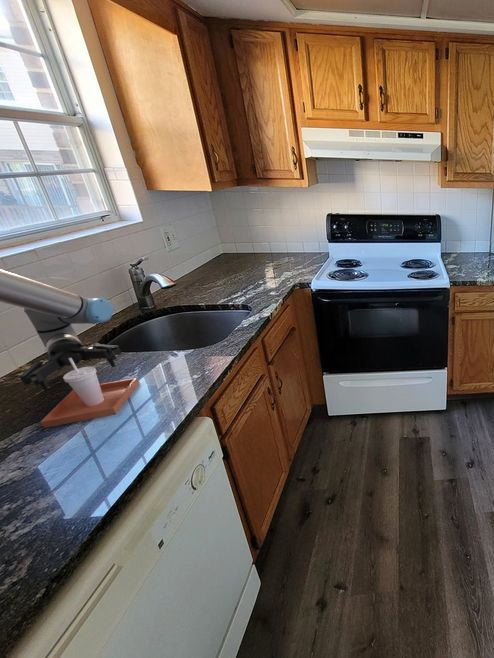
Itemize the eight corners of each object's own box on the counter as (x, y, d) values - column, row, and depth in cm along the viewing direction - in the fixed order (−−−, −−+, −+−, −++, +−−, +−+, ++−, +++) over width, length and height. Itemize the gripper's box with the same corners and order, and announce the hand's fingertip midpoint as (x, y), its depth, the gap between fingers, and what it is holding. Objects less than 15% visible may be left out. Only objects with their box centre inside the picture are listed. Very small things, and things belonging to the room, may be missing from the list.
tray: (44, 428, 92) (40, 421, 91) (77, 394, 105) (74, 388, 104) (116, 413, 96) (113, 407, 95) (139, 383, 109) (137, 377, 108)
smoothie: (98, 393, 104) (75, 351, 98) (116, 396, 103) (94, 353, 97) (73, 408, 98) (47, 363, 92) (92, 410, 97) (67, 366, 91)
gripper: (123, 344, 119) (142, 365, 107) (12, 379, 102) (18, 408, 89) (114, 324, 116) (131, 342, 104) (-3, 356, 99) (1, 383, 86)
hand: (79, 373), depth 97 cm, fingers open, 13 cm apart
